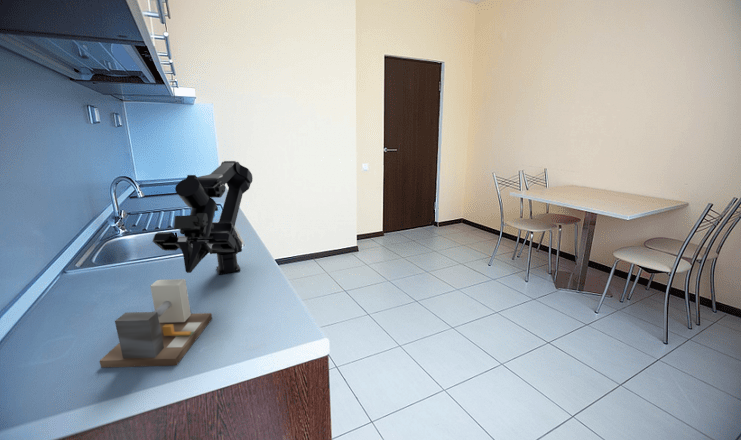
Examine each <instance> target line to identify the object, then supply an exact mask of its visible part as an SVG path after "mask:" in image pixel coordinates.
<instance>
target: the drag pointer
mask: <svg viewBox="0 0 741 440" xmlns="http://www.w3.org/2000/svg"><path fill="white" fill-rule="evenodd" d="M162 328H163V334H164V336H177V335H190V334H191V331H183V332H174V326H173V324H165V325H164V326H163V327H162Z"/></svg>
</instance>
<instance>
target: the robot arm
mask: <svg viewBox="0 0 741 440" xmlns="http://www.w3.org/2000/svg"><path fill="white" fill-rule="evenodd" d="M252 182H253V174H252V173H251V171H250V169H249V168H247V167H245V166H244V165H241V164H240V162H239V161H236V160H224V161H222V162H221V164H220V165H219V166H218V167H216V169H214V170H213V171H212V172H211V173H210V174H205V175H201V176H198V177H197V176H196V174H187V176H186V178H183V179H182V180H180V181H179V182H178V183H177V184H176V185H175V188H174V189H175V193H176V194H177V196H178V197H179V198H180V199H181V200H182V201H183V202H184V204H185V205H186V206H187V207H188V208H191V209H190V214H188V215H174V223H173V229H174V230H179V233H180V234H181V235H178V236H177V235H176V234H175V233H173V232H171V231H166V232H164V231H163V232H156V233H155V234H154V236H153V238H152V243H154V244H155V245H156V246H157V247H158V248H160V249H161V250H162V251H166V252H167V251H168V252H170V251H177V250H178V249H179V250H180V251H181V252H182V256H183V263H184V269H185V272H186V273H188V274H190V273H192V272H193V270H195V268H196V267H197V266H198V265H199V263H200V262H201V261H202V260H203V259H204V258H205V257H206V256H207V255H208V254H210V255H216V257H217V266H216V267H215V268H216V270H217V273H218V275H220V276H221V275H226V274H229V273H235V272H240V271H241V268H240V266H239V264H238V258H237V257H238V256H237V254H238V253H241V252H242V251H243V242H242V241H241V239H240V238H239V235H238V232H237V230H236V228H235V226H236V221H237V219H238V213H239V210H240V206H241V202H242V198H243V194H244V193H245V192H247V191H248V190H249V189H250V188H251V187H250V186H251V184H252ZM226 185H227V187H228V189H227V192H226ZM225 192H226V195H225V200H224V202H223V207H222V210H221V213H220V216H219V219H218V222H214V218H215V213H216V212H217V211H219V209H218V205H217V202H216V201H215V200H214V199H216V198H217V199H218V198H221V197H223V195H224V194H225Z"/></svg>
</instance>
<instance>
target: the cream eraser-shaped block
mask: <svg viewBox="0 0 741 440" xmlns="http://www.w3.org/2000/svg"><path fill="white" fill-rule="evenodd" d="M186 282H187V281H186V279H185V278H177V279H176V278H175V279H157V280H155V282H152V284H151V285H150V290H151V291H150V292H151V298H152V302H153V308H154V309H153V310H154V311H153V312H157V313H158V318H159V323H166V322H185V321H186V320H187V319H188V318H189V317H190V315H191V314H192V313H191V306H190V301H189V300H190V299H189V295H188V294H189V293H188V288H187V283H186Z"/></svg>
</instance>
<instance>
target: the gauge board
mask: <svg viewBox="0 0 741 440" xmlns="http://www.w3.org/2000/svg"><path fill="white" fill-rule="evenodd" d="M212 320H213V316H212V312H209V313H208V312H205V313H201V312H200V313H191V315H190V317H189V318H188V319H187V320H186V321H185V322H166V323H159V318H158V313H157V312H154V311H141V312H140V311H138V312H137V311H135V312H133V311H132V312H130V311H129V312H128V311H127V312H124V313H123V314H122V315H120V316H118V318H116V319H115V320H114V324H115V327H116V334H117V338H118V342H119V343H118V344H116V345H115V346H114V347H113V348H112V349H111V350H110V351H109V352H108V353H106V354H105V355H104V356H103V357H102V358H100V360H99V365H100V368H102V369H103V368H131V367H132V368H134V367H135V368H136V367H165V366H166V367H168V366H178V364H179V363H180V361H181V360H182V359H183V358H184V356H185V355H186V354H187V353H188V351H189V349H191V347H192V346H193V345H194V343H195V342H196V341H197V340H198V339H199V337H200V335H201V334H202V333H203V332H204V330H205V329H206V327H207V326H208V325H209V324H210V322H211V321H212ZM165 324H173V326H174V332H183V331H191V334H190V335H177V336H164V334H163V328H162V327H163V326H164V325H165Z"/></svg>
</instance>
